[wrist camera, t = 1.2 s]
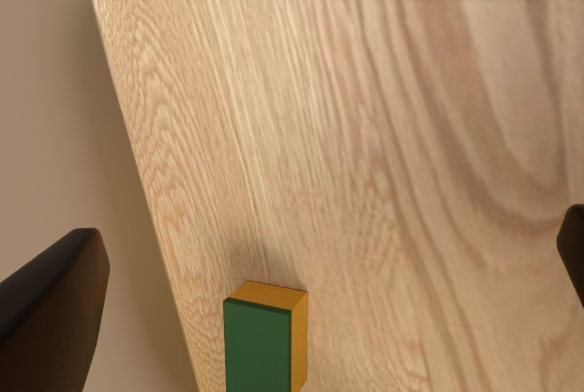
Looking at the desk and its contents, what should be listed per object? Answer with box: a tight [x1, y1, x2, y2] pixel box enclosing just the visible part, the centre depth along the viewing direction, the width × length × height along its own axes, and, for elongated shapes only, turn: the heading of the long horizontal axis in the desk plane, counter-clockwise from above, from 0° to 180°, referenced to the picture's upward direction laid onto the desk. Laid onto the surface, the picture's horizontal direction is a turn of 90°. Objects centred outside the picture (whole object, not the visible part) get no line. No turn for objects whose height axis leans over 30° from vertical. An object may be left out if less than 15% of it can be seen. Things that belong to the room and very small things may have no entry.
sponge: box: [223, 281, 307, 392], centre depth 28 cm, size 4×6×3 cm, turn 0°
